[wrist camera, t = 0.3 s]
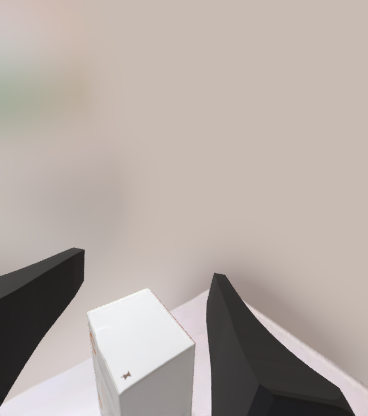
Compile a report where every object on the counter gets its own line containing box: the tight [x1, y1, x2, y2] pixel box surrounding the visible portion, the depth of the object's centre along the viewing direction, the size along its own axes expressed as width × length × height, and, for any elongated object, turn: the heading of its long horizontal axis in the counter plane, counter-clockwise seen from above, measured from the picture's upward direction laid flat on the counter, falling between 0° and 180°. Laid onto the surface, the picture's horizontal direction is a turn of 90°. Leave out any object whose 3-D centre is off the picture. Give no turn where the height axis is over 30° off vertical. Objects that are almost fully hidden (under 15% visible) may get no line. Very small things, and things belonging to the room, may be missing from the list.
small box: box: [87, 288, 195, 416], centre depth 20 cm, size 8×6×13 cm
